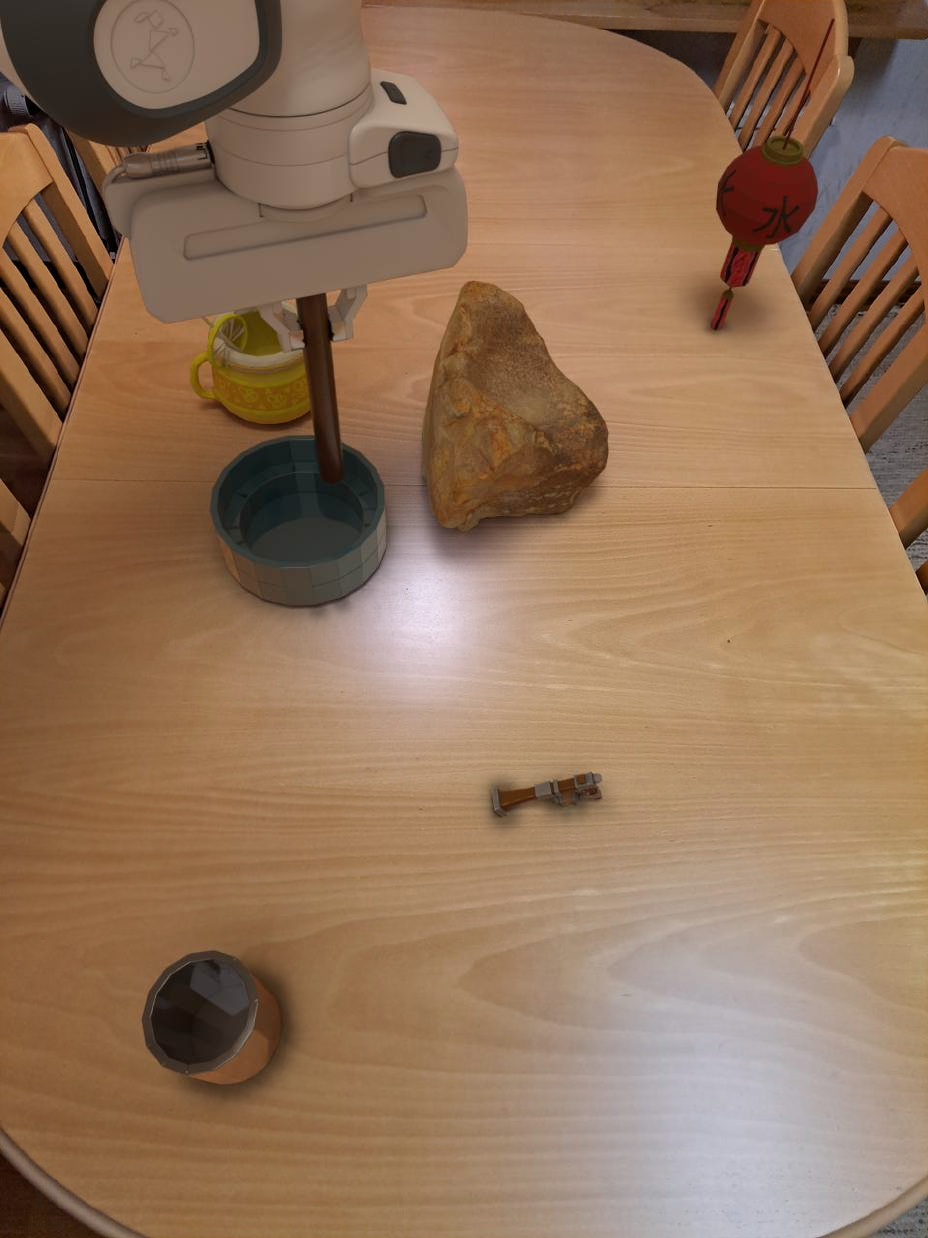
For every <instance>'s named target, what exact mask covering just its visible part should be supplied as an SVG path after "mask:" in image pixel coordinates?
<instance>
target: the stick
mask: <svg viewBox="0 0 928 1238" xmlns="http://www.w3.org/2000/svg"><path fill="white" fill-rule="evenodd" d="M294 300H295V306H296V308H297V315H298V322H299V323H300V324H301V327H302V329H303V334H304V339H303V340H304V343H305V349H302V350H303V358H304V365H305V372H306V379H307V386H308V393H309V400H310V408H311V410H310V413H311V421H312V429H313V435H314V436H315V443H316V450H317V458H318V465H319V472H320V477H321V479H322V480H323V481H324V482H326V483H330V484H334V483H338V482H340V481H341V480H342V479H343V478H344V475H345V472H344V462H343V453H342V443H341V442H342V434H341V433H342V432H341V423H340V415H339V414H340V413H339V406H338V404H339V403H338V394H337V386H336V374H335V367H334V357H333V345H332V341H331V336H330V326H329V316H328V306H329V305H328V297H327V292H326V293H321V294H316V295H311V296H307V297H302V298H297V299H294Z"/></svg>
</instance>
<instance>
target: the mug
mask: <svg viewBox="0 0 928 1238" xmlns="http://www.w3.org/2000/svg"><path fill="white" fill-rule="evenodd" d="M281 305H282V314H283V315H288V314H293V313H296V315H297V308H296V304H295V305H294V304H292V303H290V302H288V300H286V301H281ZM297 317H298V315H297ZM201 319H202V320H203V321H204V322H205V323H206V324H207V325H208V326H209V329H208V332H207V334H208V335H207V346H206V351H203V352H201V353H200V354H197V356H196V357H194V359H193V360H192V362H191V364H190V366H189V377H190V378H189V379H190V380H189V381H190V385H191V387H192V388H193V391H194V394H195V395H197V396H198V397H199V398H201V399H204V400H215V401H216V402H218V403H221V404H222V405H223V406H224V408H226V409H227V410H228V411H229V412H230V413H232V414H234V415H236V416H237V417H239V418H241V419H242V420H244V421H247V422H251V423H257V424H260V425H261V424H262V425H276V424H283V423H288V422H291V421H293V420H296V419H298V418H300V417H303V416H304V415H306V414H307V413H309V412H311V408H310V400H309V393H308V386H307V379H306V372H305V365H304V358H303V350H302V349H301V350H297V351H292V352H287V353H284V352H283V350H282V348H281V345H280V343H279V339H278V336H277V332H276V331H275V330H274V329H273V328H272V327H271V326H270V325H269V324H268V323H267V322H266V321H265V320H264V319H263V318H262V317H261V315H260V313H259V310H258V308H257V307H252V308H247V309H242V310H237V311H232V312H227V313H222V314H217V316H216V317H215V318H214V319H213V321H212V322H211V321H210V320H209V319H208V318H207V317H202V318H201ZM206 362H209V364H210V366H211V375H212V382H213V386H212V387H211V390H210V391H209V390H206V389H203V387H202V385H201V383H200V378H199V369H200V367H201V366H202V365H203V364H204V363H206Z"/></svg>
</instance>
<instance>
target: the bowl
mask: <svg viewBox="0 0 928 1238" xmlns="http://www.w3.org/2000/svg"><path fill="white" fill-rule="evenodd" d="M341 443H342V453H343V462H344V472H345V475H344V478H343V479H342V480H341V481H340V482H338V483H334V484H330V483H326V482H324V481H323V480H322V479H321V477H320V472H319V465H318V458H317V450H316V443H315V436H314V434H290V435H284V436H280V437H276V438H271V439H268V440H263V441H261V442H259V443H257V444H255V445H253V446H251V447H249V448H248V449H245V450H243V451H242V452H241V453H240V452H239V454H238V455H237V456H235V457H234V458H233V459H232V460H231V461H230V462H229V463H228V464H226V466H225V467H223V469H222V470H221V472H220V473H219V476H218V477H217V479H216V481H215V483H214V485H213V487H212V489H211V495H210V501H209V502H210V503H209V513H210V517H211V520H212V524H213V526H214V530H215V534H216V536H217V540H218V543H219V546H220V549H221V552H222V555H223V558H224V562H225V564H226V568H227V569H228V571H229V573H231V575H232V576H233V577H234V578H235V580H236V581H237V582H238V584H239V585H240V586H241V587H242V588H244V589H246V590H247V591H249V592H251V594H254V595H256V596H257V597H259V598H261V599H264V600H265V601H266V600H267V601H270V602H274V603H278V604H282V605H286V606H315V605H319V604H323V603H327V602H330V601H334V600H336V599H340V598H342V597H344V596H346V595H348V594H349V593H351V592H353V591H354V590H355V589H358V588H359V587H361V586H362V585H363V584H365V582H366V581H367V580H368V579H369V577H370V576H371V575H372V574H373V573H374V572H375V571H376V570H377V568H378V567H379V566H380V563H381V562H382V559H383V556H384V554H385V550H386V548H387V519H386V518H387V517H386V515H387V514H386V493H385V492H386V491H385V490H386V489H385V485H384V483H383V480H382V478H381V476H380V474H379V471H378V469H377V467H376V466H375V465H374V464H373V463H372V462H371V461H370V460H369V458H367V457H366V456H365V455H364V454H363V453H362V452H361V451H360V450H358V449H356V448H354V447H352V446H350V445H349V444H346V443H345V442H342V441H341Z"/></svg>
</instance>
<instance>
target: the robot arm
mask: <svg viewBox="0 0 928 1238" xmlns="http://www.w3.org/2000/svg"><path fill="white" fill-rule="evenodd" d="M362 5H363V0H0V73H1V74H2V75H3V76H4V77H6V78H7V79H8V80H9V81H10V83H12V84H13V85H14V86H15V87H16V88H18V89H19V91H21V92H22V94H24V95H25V96H26V97H27V98H28V99H29V100H30V101H31V102H32V103H34V104H35V106H37V107H38V108H39V109H41V110H42V111H43V112H44V113H45V114H46V115H48V116H49V117H50V118H52V120H53V121H55V122H56V123H57V124H59V125H60V126H61V127H63V128H64V129H66V130H68V131H69V132H71V133H72V134H74V135H75V136H77V137H79V138H82V139H85V140H87V141H89V142H92V143H95V144H98V145H102V146H106V147H112V148H123V149H124V148H125V149H126V148H127V149H128V148H130V149H131V148H141V147H147V146H151V145H154V144H158V143H160V142H163V141H165V140H166V141H167V140H168V139H171V138H172V137H175V136H177V135H179V134H181V133H183V132H185V131H187V130H189V129H191V128H194V127H195V126H197V125H200V124H201V123H204V128H205V132H206V137H207V139H206V141H203V142H197V143H191V144H185V145H178V146H173V147H172V148H167V149H163V150H159V151H153V152H148V151H139V152H138V151H137V152H133V153H130V154H129V153H128V154H126V155H124V156H122V157H121V160H122V163H120V164H118V165H116V166H114V167H113V168H111V169H110V170H109V171H108V172H107V174H106V175H105V177H104V179H103V182H102V185H101V196H102V199H103V203H104V206H105V208H106V211H107V215H108V217H109V221H110V223H111V225H112V227H113V228H114V229H115V230H116V231H117V232H118V233H119V234H120V235H121V236H123V237H124V238H126V239H127V243H128V247H129V252H130V257H131V262H132V265H133V270H134V274H135V277H136V281H137V285H138V288H139V292H140V296H141V299H142V301H143V305H144V308H145V311H146V313H147V314H148V315H150V316H151V317H153V318H154V319H156V320H157V321H159V322H161V323H162V324H165V325H171V324H176V323H181V322H186V321H192V320H196V319H202V317H206V318H207V317H211V316H215V315H217V316H218V315H219V314H222V313H227V312H232V311H237V310H242V309H247V308H252V307H257V308H258V310H259V313H260V315H261V317H262V318H263V319H264V320H265V321H266V322H267V323H268V324H269V325H270V326H271V327H272V328H273V329H274V330H275V331H276V332H277V336H278V339H279V343H280V345H281V348H282V350H283V352H284V353H287V352H292V351H297V350H301V349H305V343H304V340H303V339H304V334H303V329H302V327H301V324H300V323H299V322H298V317H297V315H296V313H293V314H288V315H283V314H282V305H281V301H291V300H295V299H297V298H302V297H307V296H311V295H316V294H321V293H326V294H327V293H330V292H331V293H332V292H336V291H339V294H338V297H337V299H336V301H335V302H334V304H332V305H327V306H328V316H329V326H330V336H331V343H336V342H342V341H348V340H351V339H354V323H353V320H355V318H356V317H357V315H358V313H359V311H360V309H361V308H362V306H363V305H364V303H365V301H366V299H367V297H368V285H371V284H376V283H381V282H385V281H391V280H396V279H400V278H406V277H411V276H416V275H421V274H427V273H431V272H436V271H441V270H446V269H451V268H454V267H456V265H457V264H458V263H459V261H460V260H461V259H462V257H463V256H464V255H465V253H466V251H467V249H468V239H469V238H468V237H469V215H468V213H469V212H468V211H469V210H468V201H467V190H466V184H465V181H464V179H463V177H462V175H461V173H460V172H459V170H458V169H457V167H456V166H455V164H456V162H457V159H458V155H459V147H460V145H459V144H460V143H459V137H458V134H457V132H456V129H455V127H454V125H453V124H452V122H451V120H450V118H449V116H448V115H447V113H446V111H445V110H444V109H443V107H442V106H441V105H440V103H439V102H438V100H437V99H436V97H434V96H433V94H432V93H431V92H430V91H429V90H428V88H427V87H426V86H425V85H423V83H422V82H421V81H420V80H419V79H418V78H415V77H413V76H411V75H407V74H403V73H398V72H393V71H389V70H386V69H385V70H384V69H380V68H375V67H372V65H371V64H372V63H371V57H370V54H369V49H368V47H367V44H366V40H365V37H364V33H363V26H362ZM122 174H124V175H122Z"/></svg>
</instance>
